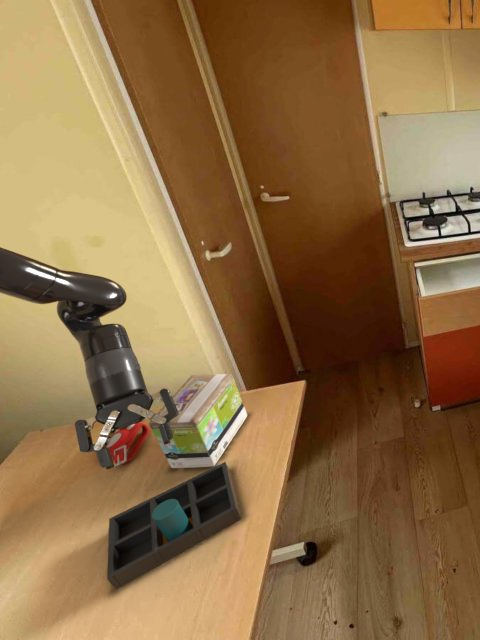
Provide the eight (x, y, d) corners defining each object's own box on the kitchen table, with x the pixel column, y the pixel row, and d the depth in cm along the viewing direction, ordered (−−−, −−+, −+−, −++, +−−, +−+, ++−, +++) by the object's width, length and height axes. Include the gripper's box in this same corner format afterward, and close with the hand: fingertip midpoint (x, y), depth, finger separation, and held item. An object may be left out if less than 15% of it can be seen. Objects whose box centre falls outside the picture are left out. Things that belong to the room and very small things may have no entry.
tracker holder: (84, 455, 97) (125, 415, 105) (100, 464, 100) (139, 425, 107) (111, 463, 92) (152, 421, 100) (128, 472, 95) (166, 431, 102)
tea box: (216, 467, 96) (193, 422, 89) (171, 469, 95) (144, 424, 89) (249, 415, 109) (232, 372, 102) (209, 416, 109) (189, 373, 102)
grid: (115, 589, 75) (106, 579, 73) (117, 529, 84) (109, 518, 82) (241, 518, 86) (236, 508, 84) (230, 472, 95) (225, 461, 93)
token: (168, 549, 80) (152, 524, 76) (167, 532, 83) (151, 507, 79) (193, 535, 82) (178, 510, 78) (191, 519, 85) (177, 494, 81)
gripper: (57, 391, 76) (82, 478, 73) (156, 358, 84) (181, 435, 81) (73, 395, 82) (97, 476, 79) (164, 364, 90) (188, 436, 87)
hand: (140, 455), depth 80 cm, fingers open, 8 cm apart
